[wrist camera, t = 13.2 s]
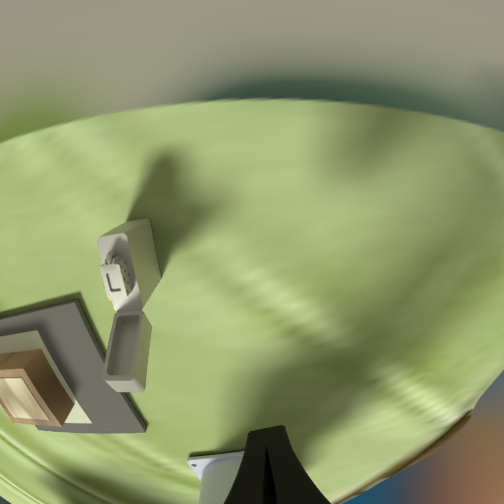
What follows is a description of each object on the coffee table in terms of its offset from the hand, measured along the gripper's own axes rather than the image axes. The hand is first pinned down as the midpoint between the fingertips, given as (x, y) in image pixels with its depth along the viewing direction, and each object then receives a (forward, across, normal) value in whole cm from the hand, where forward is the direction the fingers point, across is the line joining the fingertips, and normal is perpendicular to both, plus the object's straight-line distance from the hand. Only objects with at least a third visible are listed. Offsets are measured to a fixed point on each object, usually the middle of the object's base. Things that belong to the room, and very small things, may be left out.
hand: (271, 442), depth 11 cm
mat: (+10, +19, +2) cm, 22 cm away
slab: (+8, +18, +2) cm, 19 cm away
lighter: (+11, +6, -5) cm, 13 cm away
